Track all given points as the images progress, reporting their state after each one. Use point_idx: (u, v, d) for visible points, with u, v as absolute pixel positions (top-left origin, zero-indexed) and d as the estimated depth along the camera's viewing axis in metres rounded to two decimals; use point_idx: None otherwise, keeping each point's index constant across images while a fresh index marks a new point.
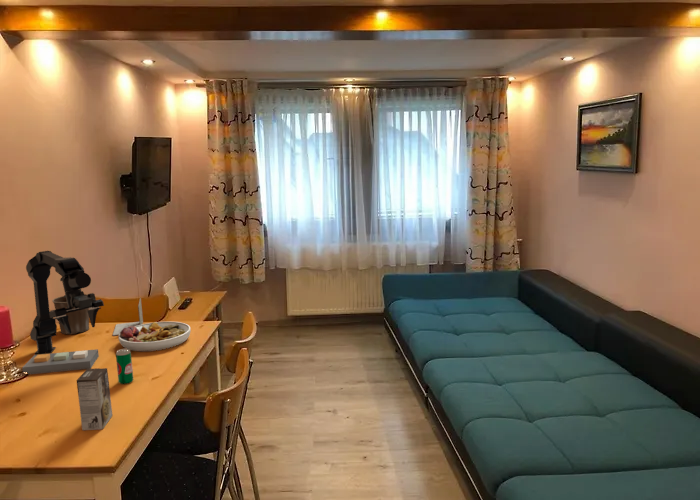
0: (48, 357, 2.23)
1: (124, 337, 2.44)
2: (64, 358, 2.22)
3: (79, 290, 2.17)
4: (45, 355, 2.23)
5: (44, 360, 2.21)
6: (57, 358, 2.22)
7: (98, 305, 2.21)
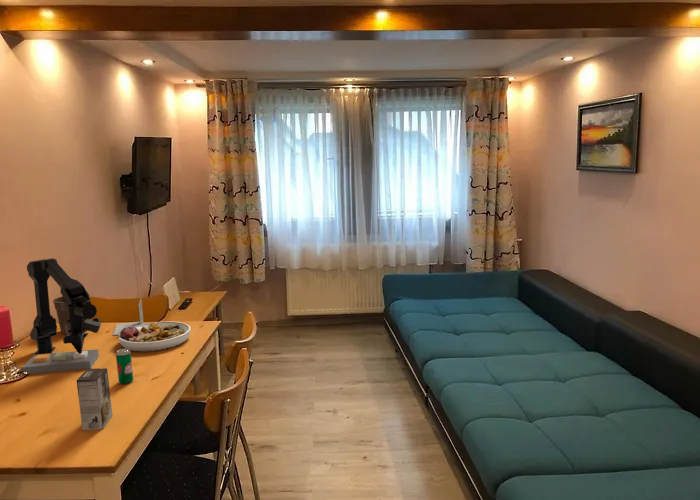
0: (48, 357, 2.23)
1: (124, 337, 2.44)
2: (64, 358, 2.22)
3: None
4: (45, 355, 2.23)
5: (44, 360, 2.21)
6: (57, 358, 2.22)
7: None
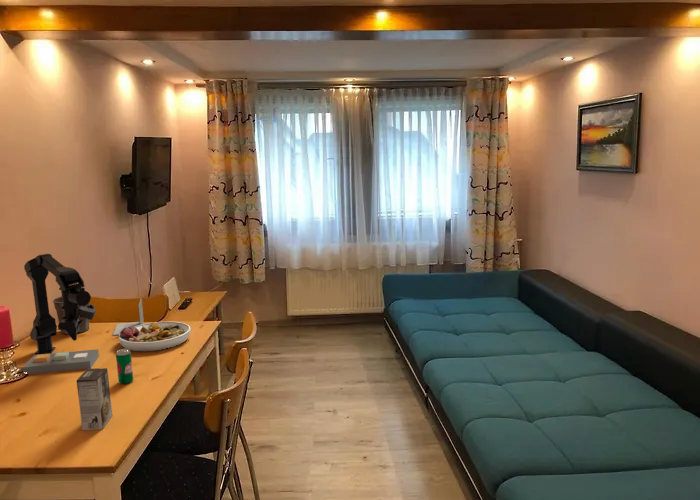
0: (48, 357, 2.23)
1: (124, 337, 2.44)
2: (64, 358, 2.22)
3: None
4: (45, 355, 2.23)
5: (44, 360, 2.21)
6: (57, 358, 2.22)
7: None
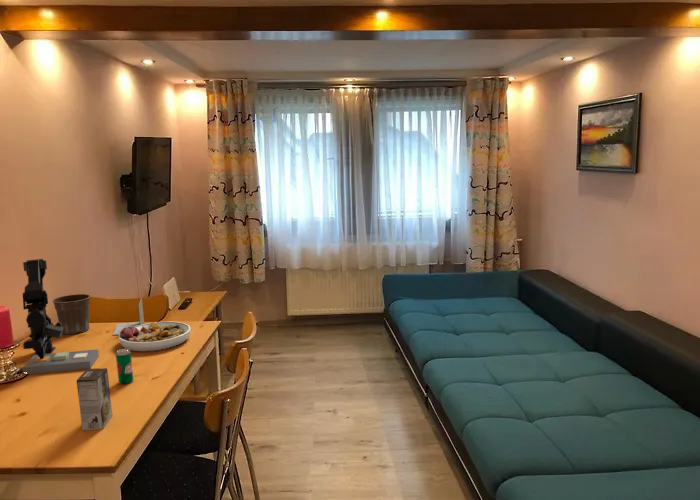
0: (48, 359, 2.23)
1: (124, 337, 2.44)
2: (64, 358, 2.22)
3: (45, 319, 2.22)
4: (45, 357, 2.23)
5: None
6: (57, 358, 2.22)
7: None
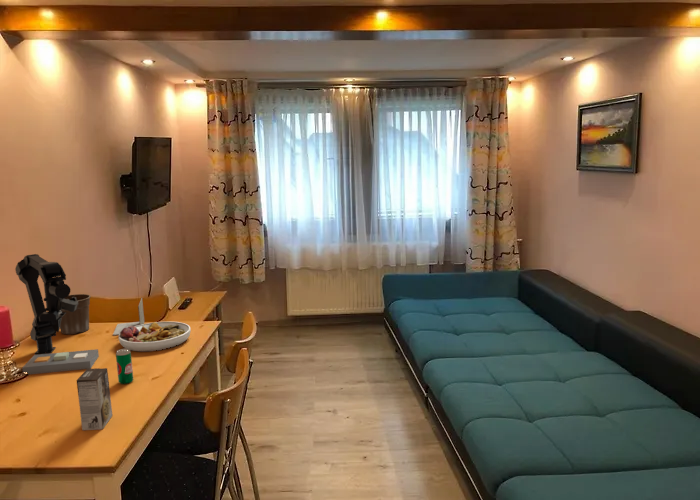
0: None
1: (124, 337, 2.44)
2: (64, 358, 2.22)
3: None
4: (45, 358, 2.23)
5: None
6: (57, 358, 2.22)
7: None
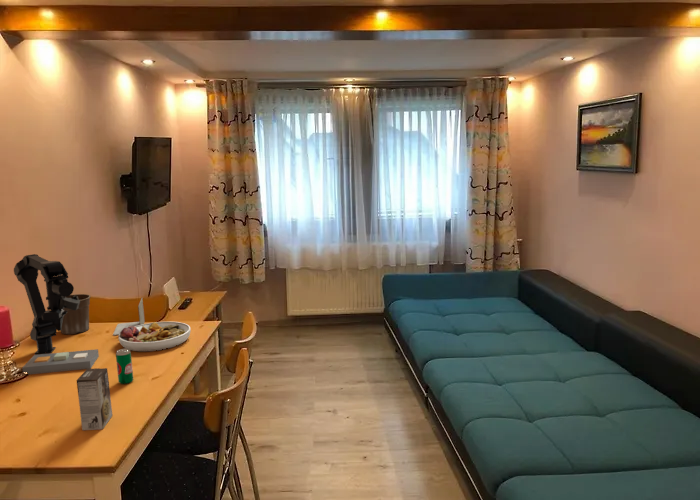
0: None
1: (124, 337, 2.44)
2: (64, 358, 2.22)
3: None
4: (45, 358, 2.23)
5: None
6: (57, 358, 2.22)
7: None
